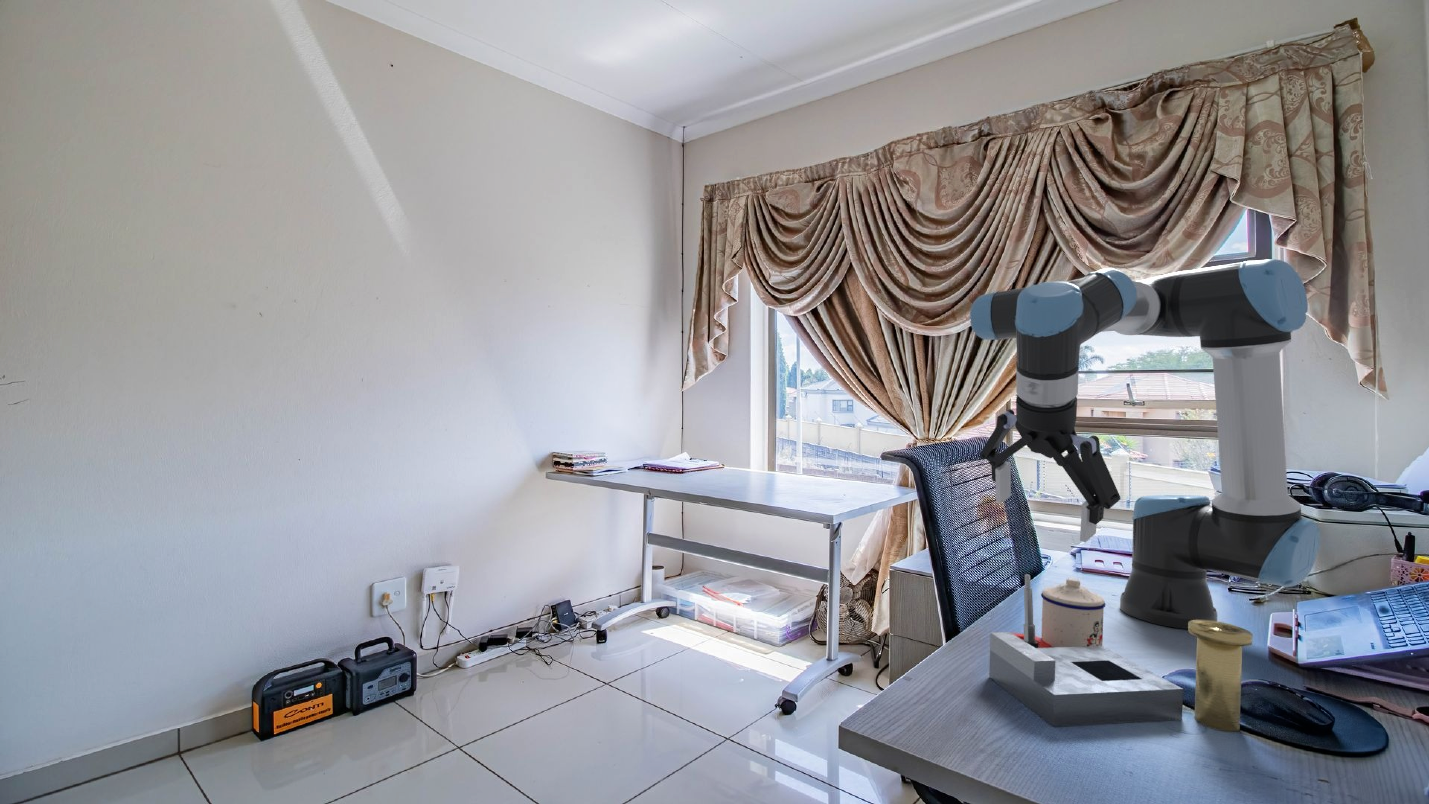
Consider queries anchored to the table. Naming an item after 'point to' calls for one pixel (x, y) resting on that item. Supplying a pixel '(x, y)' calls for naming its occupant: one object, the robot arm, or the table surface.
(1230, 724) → the brass flanged peg
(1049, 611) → the teacup with lid
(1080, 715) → the jig
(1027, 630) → the tow hook
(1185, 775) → the table surface
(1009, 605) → the table surface
